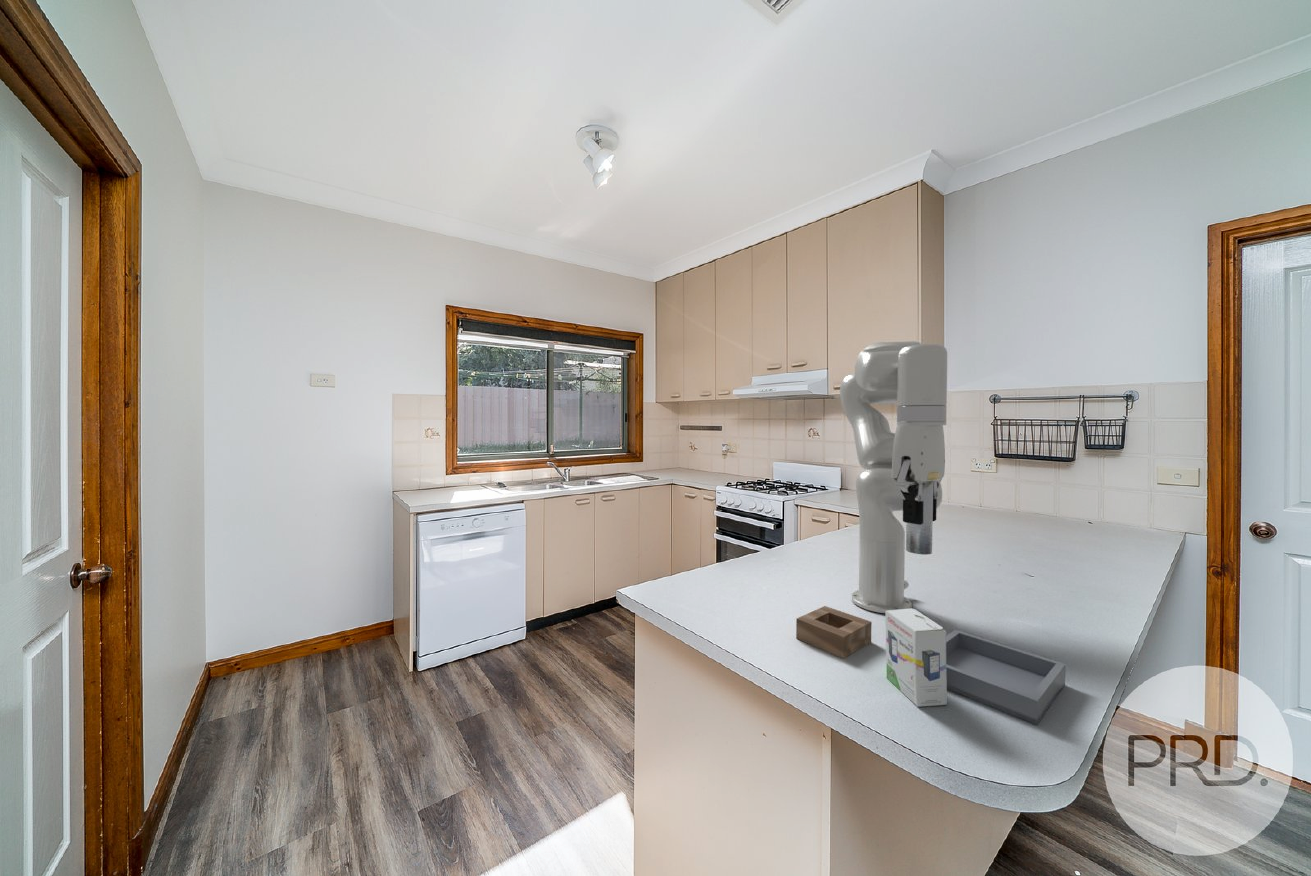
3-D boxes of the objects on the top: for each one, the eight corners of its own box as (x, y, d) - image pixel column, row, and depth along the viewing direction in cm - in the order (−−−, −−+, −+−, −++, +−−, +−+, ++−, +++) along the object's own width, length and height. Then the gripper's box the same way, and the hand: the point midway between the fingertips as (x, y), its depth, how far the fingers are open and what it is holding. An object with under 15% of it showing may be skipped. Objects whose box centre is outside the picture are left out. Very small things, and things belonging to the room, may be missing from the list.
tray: (954, 647, 89) (955, 629, 89) (1064, 685, 77) (1065, 664, 77) (917, 676, 79) (917, 656, 79) (1036, 725, 67) (1037, 701, 67)
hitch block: (824, 624, 99) (824, 605, 99) (871, 642, 92) (871, 621, 91) (796, 638, 93) (796, 618, 93) (843, 658, 85) (843, 636, 85)
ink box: (948, 706, 71) (949, 629, 71) (915, 708, 71) (916, 631, 70) (912, 675, 80) (913, 606, 79) (883, 677, 79) (884, 607, 79)
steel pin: (910, 545, 87) (911, 469, 86) (943, 552, 82) (944, 472, 82) (894, 550, 84) (895, 471, 83) (928, 557, 79) (929, 474, 79)
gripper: (921, 417, 90) (920, 512, 91) (874, 417, 80) (873, 524, 81) (965, 416, 84) (964, 519, 85) (920, 416, 74) (918, 532, 75)
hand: (919, 520), depth 83 cm, fingers closed on steel pin, 4 cm apart
